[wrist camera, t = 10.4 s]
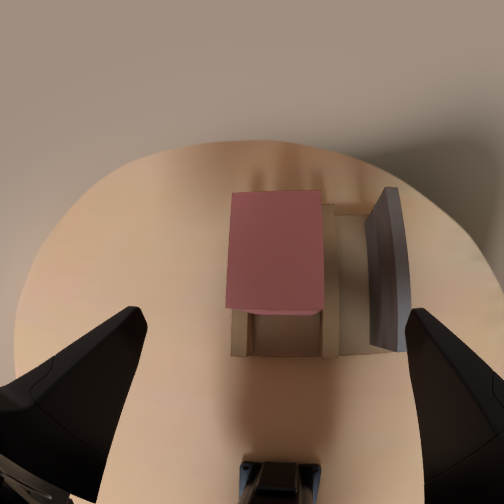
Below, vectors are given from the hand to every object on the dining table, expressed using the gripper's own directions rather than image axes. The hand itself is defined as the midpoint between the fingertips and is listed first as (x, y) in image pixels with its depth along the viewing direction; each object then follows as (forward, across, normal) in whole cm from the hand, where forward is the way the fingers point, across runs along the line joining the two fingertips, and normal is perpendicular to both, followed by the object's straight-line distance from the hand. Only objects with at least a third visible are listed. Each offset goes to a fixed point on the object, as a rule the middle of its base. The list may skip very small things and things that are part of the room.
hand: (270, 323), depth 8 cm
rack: (+11, -2, +7) cm, 13 cm away
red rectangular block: (+10, 0, +6) cm, 12 cm away
